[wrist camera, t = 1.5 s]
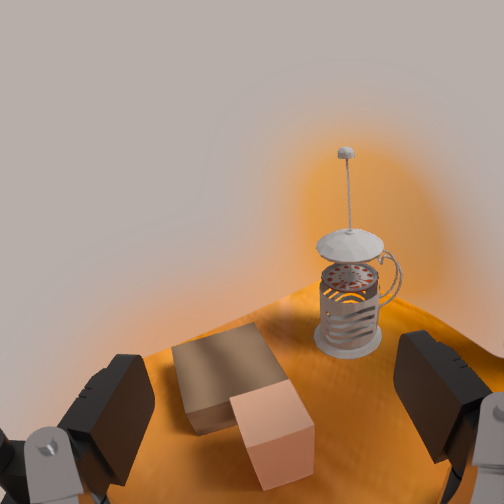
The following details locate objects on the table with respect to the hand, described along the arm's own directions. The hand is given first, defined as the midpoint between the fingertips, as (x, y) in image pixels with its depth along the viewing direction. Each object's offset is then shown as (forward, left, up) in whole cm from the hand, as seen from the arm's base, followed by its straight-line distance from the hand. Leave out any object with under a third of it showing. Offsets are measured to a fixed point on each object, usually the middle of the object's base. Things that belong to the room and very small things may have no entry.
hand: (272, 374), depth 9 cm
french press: (-17, -21, -22) cm, 35 cm away
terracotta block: (-1, -7, -22) cm, 23 cm away
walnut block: (+1, -19, -23) cm, 30 cm away
